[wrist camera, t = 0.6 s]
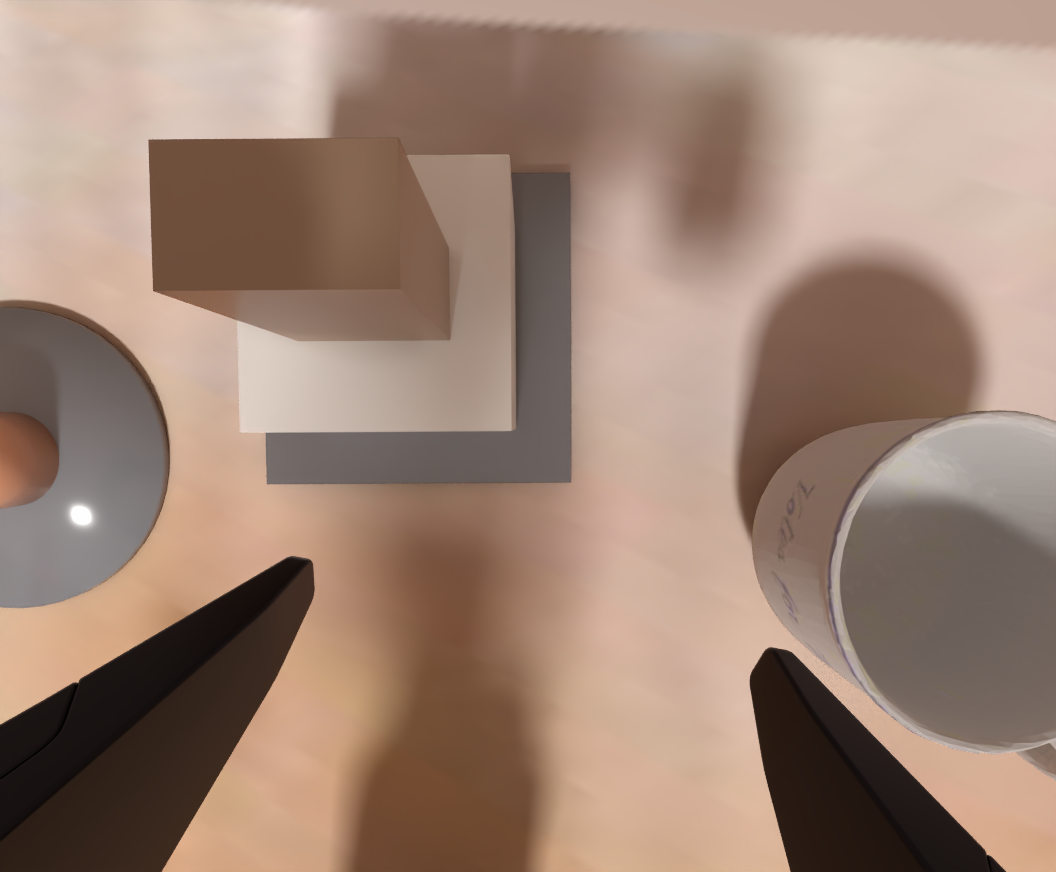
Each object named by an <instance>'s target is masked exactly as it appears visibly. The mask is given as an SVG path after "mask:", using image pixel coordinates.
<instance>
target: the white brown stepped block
mask: <svg viewBox="0 0 1056 872" xmlns="http://www.w3.org/2000/svg"><path fill="white" fill-rule="evenodd" d="M149 172H150V204H151V237H152V269H153V291H155V292H158V293H160V294H163V295H166V296H169V297H172V298H175V299H178V300H181V301H183V302H186V303H189V304H192V305H195V306H198V307H201V308H204V309H207V310H209V311H212V312H215V313H218V314H221V315H224V316H227V317H230V318H233V319H235V320H237V336H238V375H239V415H240V433H285V432H446V431H513V430H514V429H516V303H515V223H514V209H513V195H512V181H511V167H510V154H467V155H406V153H405V151H404V149H403V147H402V145H401V143H400V140H399V138H306V139H173V140H149Z"/></svg>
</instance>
